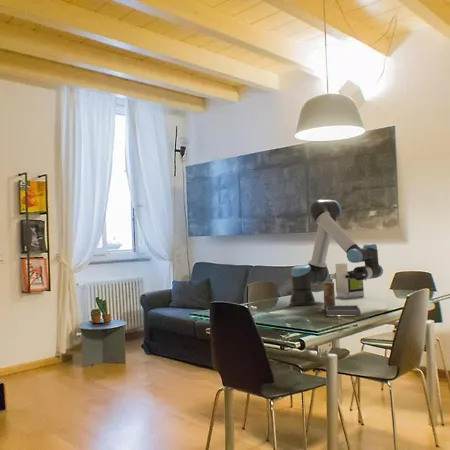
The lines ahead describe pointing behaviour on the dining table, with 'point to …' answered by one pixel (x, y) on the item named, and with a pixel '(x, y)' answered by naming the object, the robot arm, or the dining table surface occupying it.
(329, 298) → the walnut pillar
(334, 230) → the robot arm
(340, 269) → the cream pillar
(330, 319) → the dining table surface
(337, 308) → the tray
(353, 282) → the tea box
